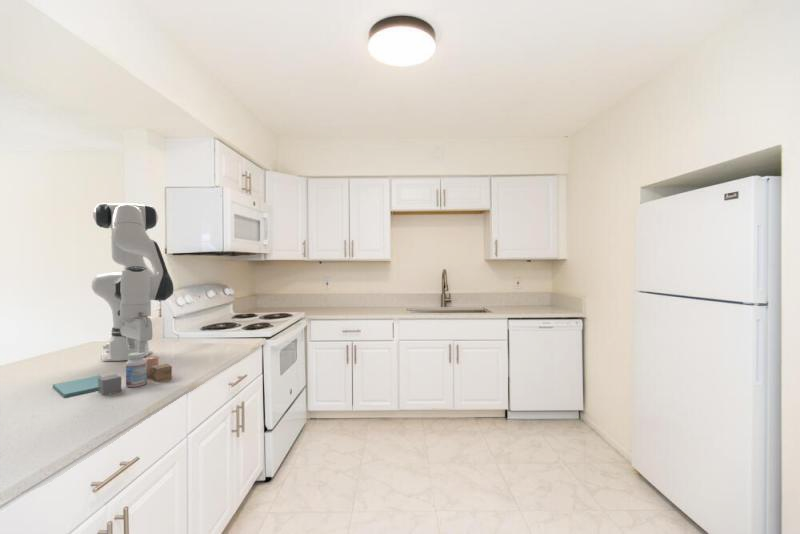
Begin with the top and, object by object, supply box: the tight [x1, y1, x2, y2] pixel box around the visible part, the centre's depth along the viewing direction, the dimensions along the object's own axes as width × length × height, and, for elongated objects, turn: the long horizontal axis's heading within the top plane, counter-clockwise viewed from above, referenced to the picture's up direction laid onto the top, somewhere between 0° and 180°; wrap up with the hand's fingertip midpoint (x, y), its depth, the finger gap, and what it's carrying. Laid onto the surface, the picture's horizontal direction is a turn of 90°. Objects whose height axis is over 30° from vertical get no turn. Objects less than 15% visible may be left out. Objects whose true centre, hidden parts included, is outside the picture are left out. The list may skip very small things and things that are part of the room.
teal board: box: [52, 374, 103, 398], centre depth 128 cm, size 16×13×1 cm
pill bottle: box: [125, 352, 148, 388], centre depth 130 cm, size 6×6×11 cm
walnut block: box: [150, 363, 173, 383], centre depth 137 cm, size 5×5×5 cm
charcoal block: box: [97, 373, 122, 396], centre depth 123 cm, size 5×5×5 cm
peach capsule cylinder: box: [143, 356, 160, 379], centre depth 140 cm, size 5×5×7 cm
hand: (136, 350), depth 130 cm, fingers open, 8 cm apart
